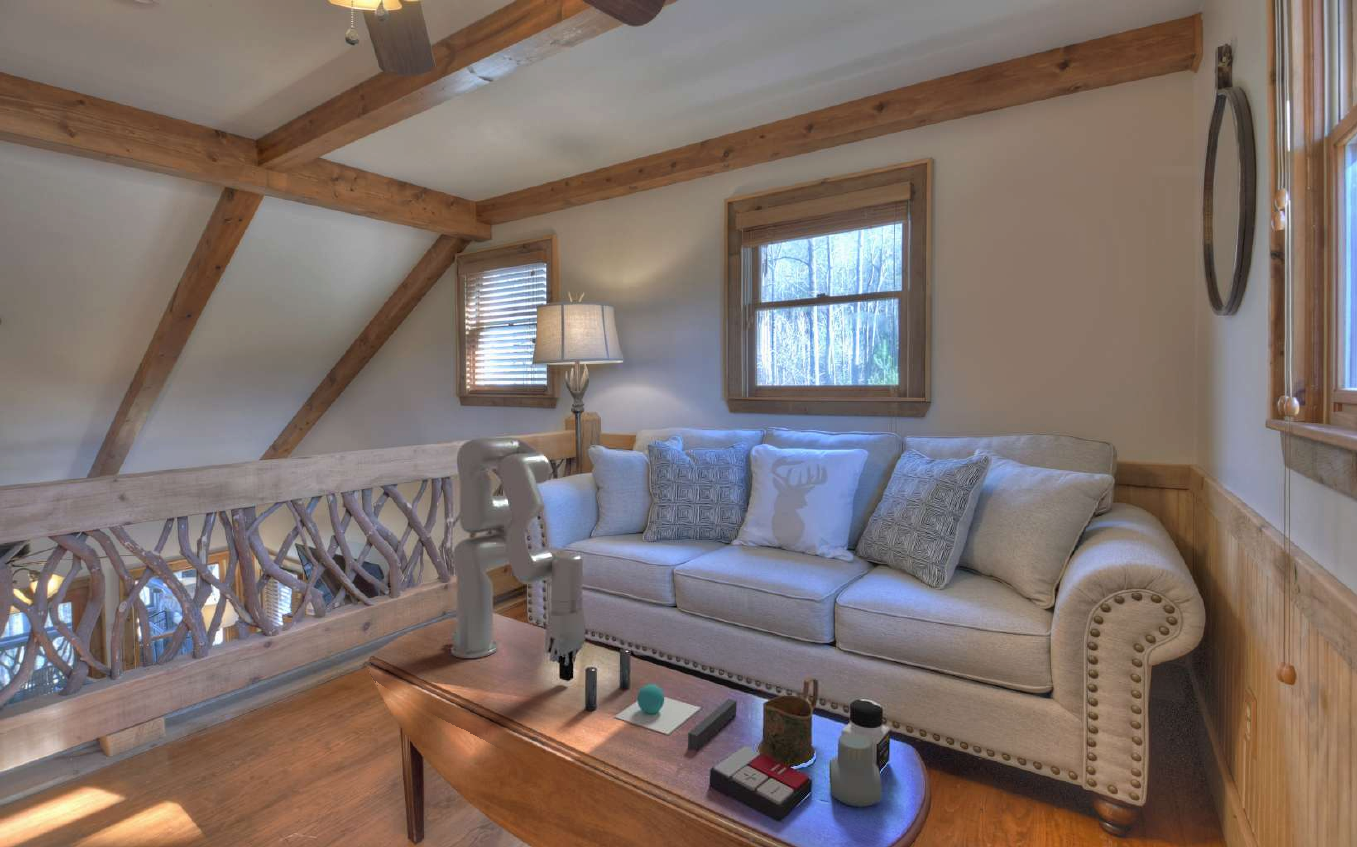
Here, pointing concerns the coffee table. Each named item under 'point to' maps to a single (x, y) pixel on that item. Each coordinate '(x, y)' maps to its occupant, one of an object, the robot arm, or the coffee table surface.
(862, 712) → the medicine bottle
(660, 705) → the ball
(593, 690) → the post
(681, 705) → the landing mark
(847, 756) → the air freshener
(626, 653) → the post
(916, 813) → the coffee table surface
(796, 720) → the mug
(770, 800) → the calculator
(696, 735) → the wall
